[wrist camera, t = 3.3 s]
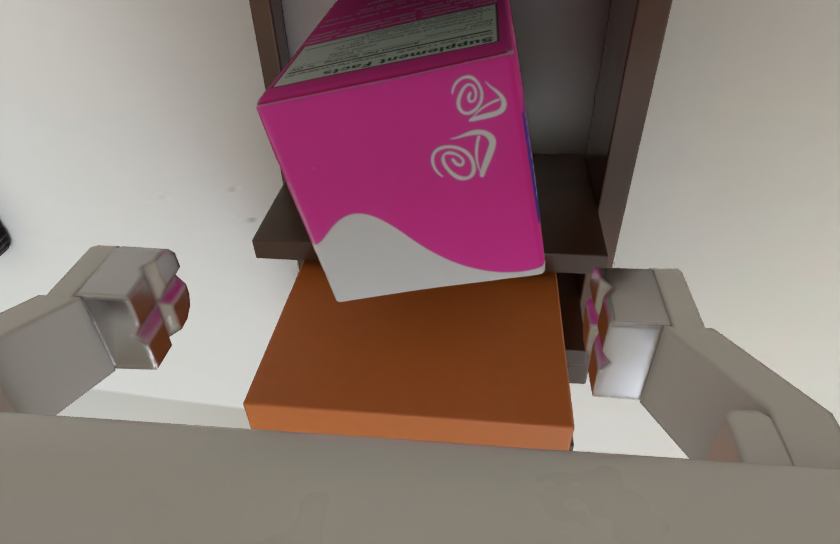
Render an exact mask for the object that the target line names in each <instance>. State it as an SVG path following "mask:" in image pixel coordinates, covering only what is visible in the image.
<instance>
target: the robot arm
mask: <svg viewBox="0 0 840 544" xmlns="http://www.w3.org/2000/svg"><path fill="white" fill-rule="evenodd" d="M179 267H180V265H179V263H178V260H177V258H176V255H175V253H174V252H172V251H170V250H169V249H157V248H141V247H126V246H122V247H119V246H104V245H98V246H94V247H91V248H90V249H89V250H88V251H87V252H86V253H85V254H84V255H83V256H82V257H81V258H80V260H79V261H78V262H77V263H76V264H75V265H74V266H73V267H72V268H71V269H70V270H69V271H68V272H67V274H66V275H65V276H64V277H63V278H62V279H61V280H60V281H59V282H58V283H57V284H56V285H55V287H54V288H53V289H52V290H51V291H50V292H49V293H48V294H47V295H38V296H36V297H34V298H32V299H29V300H27V301H25V302H23V303H21V304H19V305H17V306H14V307H12V308H10V309H8V310H6V311H4V312H2V313H0V544H840V427H839V425H838V423H837V421H836V419H835V418H834V416H833V414H832V413H831V412H829V411H828V410H827V409H825V408H824V407H822V406H821V405H820V404H818V403H817V402H815V401H814V400H813V399H811V398H810V397H808V396H807V395H806V394H804V393H803V392H801V391H800V390H799V389H797V388H796V387H794V386H793V385H792V384H790V383H789V382H787V381H786V380H785V379H783V378H782V377H780V376H779V375H778V374H776V373H775V372H773V371H772V370H771V369H769V368H768V367H766V366H765V365H764V364H762V363H761V362H760V361H758V360H757V359H755V358H754V357H753V356H751V355H750V354H748V353H747V352H746V351H744V350H743V349H741V348H740V347H739V346H737V345H736V344H734V343H733V342H732V341H730V340H729V339H727V338H726V337H725V336H723V335H722V334H720V333H719V332H718V331H716V330H715V329H711V328H705V326H704V324H703V321H702V319H701V317H700V314H699V312H698V309H697V307H696V305H695V302H694V300H693V297H692V295H691V293H690V290H689V288H688V285H687V283H686V281H685V278H684V276H683V273H682V272H681V271H680V270H679V269H656V268H650V269H627V268H600V267H594V269H593V272H592V275H591V280H590V284H589V285H590V290H591V295H592V298H591V299H590V300H589V301H587V302H586V305H585V311H584V318H583V342H584V348H585V352H587V353H588V354H589V355H590V361H589V366H588V372H589V378H590V384H591V389H592V395H593V396H598V397H610V398H622V399H633V400H640V403H641V404H642V405H643V406H644V407H645V408H646V410H647V411H648V412H649V413H650V414H651V415H652V416H653V418H654V419H655V420H656V421H657V422H658V423H659V424H660V426H661V427H662V428H663V429H664V430H665V431H666V432H667V434H668V435H669V436H670V437H671V438H672V439H673V440H674V442H675V443H676V444H677V445H678V446H679V447H680V448H681V450H682V451H683V452H684V453H685V454H686V455H687V456H688V457H689V459H682V458H668V457H653V456H639V455H624V454H609V453H594V452H578V451H563V450H548V449H532V448H518V447H504V446H490V445H476V444H462V443H447V442H433V441H419V440H405V439H391V438H377V437H362V436H347V435H333V434H318V433H303V432H288V431H273V430H259V429H244V428H228V427H214V426H200V425H199V426H198V425H185V424H171V423H155V422H141V421H127V420H112V419H97V418H83V417H68V416H55V415H57V414H58V413H59V412H61V411H62V410H63V409H65V408H66V407H67V406H69V405H70V404H71V403H73V402H74V401H75V400H77V399H78V398H79V397H81V396H82V395H83V394H85V393H86V392H87V391H89V390H90V389H91V388H93V387H94V386H95V385H97V384H98V383H99V382H101V381H102V380H103V379H105V378H106V377H107V376H109V375H110V374H111V373H113V372H114V371H115V368H121V369H152V370H157V369H158V367H159V366H160V364H161V362H162V361H163V359H164V357H165V356H166V354H167V352H168V351H169V349H170V348H171V346H172V344H171V341H170V338H169V337H170V336H171V335H173V334H175V333H176V332H178V331H179V330H181V329H182V327H183V325H184V324H185V322H186V320H187V318H188V313H189V308H190V298H189V292H188V289H187V286H186V284H185V283H184V282H183V281H182V280H181V279H180V278H178V277H177V276H176V273H177V271H178V269H179Z"/></svg>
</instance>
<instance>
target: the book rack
mask: <svg viewBox="0 0 840 544" xmlns="http://www.w3.org/2000/svg"><path fill="white" fill-rule="evenodd" d="M249 2H250V8H251V13H252V18H253V24H254V29H255V34H256V40H257V45H258V51H259V56H260V61H261V67H262V72H263V77H264V83H265V88H266V90H267V89H268V88H269V86H270V85H271V84H272V83H273V81H274V80H275V79H276V78H277V76H278V75H279V74H280V73H281V72H282V70H283V69H284V68H285V67H286V66H287V64H288V63H289V62H290V60H289V54H288V47H287V41H286V34H285V28H284V21H283V15H282V9H281V2H280V0H249ZM671 5H672V0H612V3H611V9H610V15H609V21H608V27H607V33H606V38H605V44H604V50H603V56H602V62H601V68H600V74H599V80H598V86H597V92H596V98H595V104H594V110H593V116H592V122H591V128H590V134H589V139H588V145H587V151H586V157H585V156H569V155H536V154H532V156H533V164H534V171H535V179H536V187H537V195H538V204H539V213H540V222H541V231H542V239H543V248H544V256H545V271H544V272H556V275H557V284H558V292H559V301H560V309H561V318H562V326H563V335H564V343H565V352H566V360H567V369H568V377H569V383H579V384H585V383H586V378H587V374H588V366H589V361H590V355H589V354H588V353H587V352H585V348H584V342H583V318H584V311H585V305H586V302H587V301H589V300H590V299H591V298H592V295H591V290H590V285H589V284H590V280H591V275H592V272H593V269H594V267H600V268H612V264H613V260H614V255H615V251H616V247H617V242H618V238H619V233H620V229H621V225H622V220H623V216H624V211H625V207H626V203H627V198H628V194H629V189H630V185H631V181H632V176H633V172H634V167H635V163H636V159H637V154H638V150H639V145H640V141H641V137H642V132H643V128H644V124H645V119H646V115H647V110H648V106H649V102H650V97H651V93H652V88H653V84H654V80H655V75H656V71H657V66H658V62H659V58H660V53H661V49H662V44H663V40H664V36H665V31H666V27H667V22H668V18H669V14H670V9H671ZM280 169H281V168H280ZM281 174H282V180H283V186H282V188H281V190H280V191H279V193H278V195H277V197H276V198H275V200H274V202H273V204H272V206H271V207H270V209H269V211H268V213H267V215H266V216H265V218H264V220H263V222H262V223H261V225H260V227H259V229H258V231H257V232H256V234H255V236H254V238H253V240H252V241H253V246H254V250H255V254H256V257H257V258H270V259H291V260H298V266H299V271H300V269H301V266H302V264H303V262H304V260H311V261H319V258H318V256H317V254H316V252H315V250H314V247H313V245H312V242H311V240H310V238H309V235H308V233H307V231H306V228H305V226H304V223H303V221H302V219H301V216H300V214H299V212H298V209H297V207H296V205H295V202H294V200H293V198H292V195H291V193H290V191H289V188H288V186H287V183H286V180H285V178H284V175H283V173H282V170H281ZM573 447H574V442H573V436H572V440H571V445H570V449H569V451H573Z"/></svg>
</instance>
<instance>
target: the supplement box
mask: <svg viewBox="0 0 840 544" xmlns="http://www.w3.org/2000/svg"><path fill="white" fill-rule="evenodd" d="M257 110H258V113H259V116H260V119H261V121H262V124H263V126H264V129H265V131H266V134H267V136H268V139H269V141H270V144H271V146H272V149H273V151H274V154H275V157H276V159H277V161H278V163H279V166H280V168H281V170H282V173H283V175H284V178H285V180H286V183H287V186H288V188H289V191H290V193H291V195H292V198H293V200H294V202H295V205H296V207H297V209H298V212H299V214H300V216H301V219H302V221H303V223H304V226H305V228H306V231H307V233H308V235H309V238H310V240H311V242H312V245H313V247H314V250H315V252H316V254H317V256H318V258H319V261H320V263H321V266H322V268H323V270H324V272H325V275H326V277H327V280H328V282H329V284H330V287H331V289H332V291H333V294H334V296H335V298H336V301H338V302H344V301H350V300H357V299H363V298H369V297H375V296H382V295H388V294H395V293H401V292H408V291H415V290H421V289H429V288H436V287H443V286H452V285H460V284H468V283H476V282H484V281H492V280H499V279H507V278H516V277H523V276H531V275H538V274H542V273H543V272H544V271H545V256H544V248H543V239H542V231H541V222H540V213H539V204H538V195H537V187H536V179H535V171H534V164H533V156H532V148H531V141H530V134H529V127H528V120H527V113H526V105H525V97H524V90H523V83H522V77H521V70H520V64H519V57H518V51H517V44H516V38H515V32H514V26H513V19H512V13H511V7H510V0H338V1H337V2H336V3H335V4H334V5H333V7H332V8H331V9H330V10H329V12H328V13H327V14H326V15H325V17H324V18H323V19H322V21H321V22H320V23H319V24H318V26H317V27H316V28H315V30H314V31H313V32H312V33H311V35H310V36H309V37H308V38H307V40H306V41H305V42H304V44H303V45H302V46H301V48H300V49H299V50H298V51H297V53H296V54H295V56H294V57H293V58H292V59H291V61H290V62H289V63H288V64H287V66H286V67H285V68H284V69H283V70H282V72H281V73H280V74H279V75H278V76H277V78H276V79H275V80H274V81H273V83H272V84H271V85H270V86H269V88H268V89H267V90H266V91H265V93H264V94H263V95H262V96H261V98H260V99H259V100H258V102H257Z"/></svg>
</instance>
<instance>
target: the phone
mask: <svg viewBox="0 0 840 544" xmlns="http://www.w3.org/2000/svg"><path fill="white" fill-rule="evenodd" d="M9 245H10V242H9V238H8V236H7V234H6V232H5V231H4V229H3V228H2V226H1V225H0V256H1V255H2V254H3V253H4V252H5V251H6V250H7V249H8V248H9Z"/></svg>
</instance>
